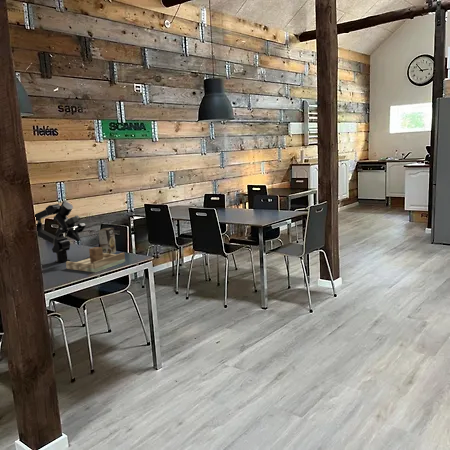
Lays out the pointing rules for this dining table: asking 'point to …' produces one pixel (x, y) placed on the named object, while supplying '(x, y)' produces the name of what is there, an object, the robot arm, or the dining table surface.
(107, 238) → the coffee box
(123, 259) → the trap lane
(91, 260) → the walnut block
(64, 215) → the robot arm
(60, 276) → the dining table surface
